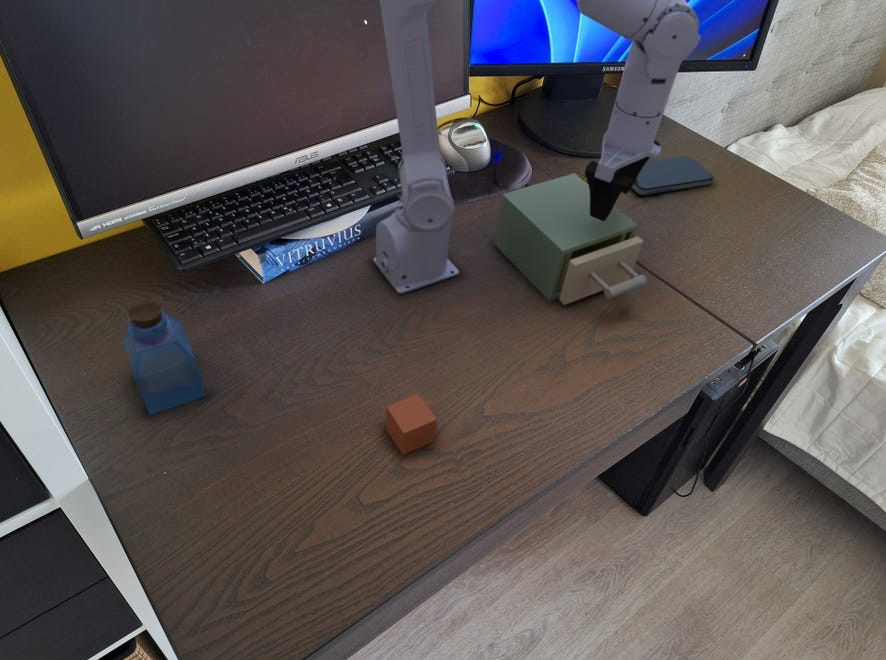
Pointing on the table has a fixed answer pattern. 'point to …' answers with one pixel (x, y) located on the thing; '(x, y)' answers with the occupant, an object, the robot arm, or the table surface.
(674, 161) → the smartphone
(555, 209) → the cabinet
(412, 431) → the block
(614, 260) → the drawer
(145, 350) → the perfume bottle
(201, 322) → the table surface
